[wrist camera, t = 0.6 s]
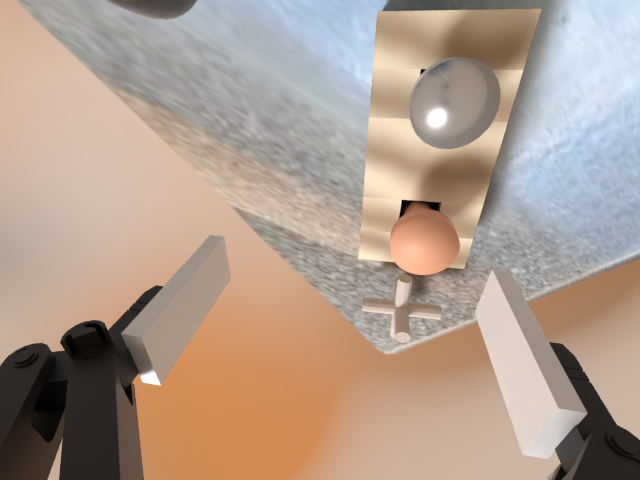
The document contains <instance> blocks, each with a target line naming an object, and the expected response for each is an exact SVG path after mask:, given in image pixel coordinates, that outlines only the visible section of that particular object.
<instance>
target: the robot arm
mask: <svg viewBox="0 0 640 480" xmlns="http://www.w3.org/2000/svg"><path fill="white" fill-rule="evenodd" d="M230 279H231V278H230V272H229V266H228V259H227V253H226V246H225V240H224V237H221V236H212V235H210V236H209V237H208V238H207V239H206V240H205V242H204V243H203V244H202V245H201V246H200V247H199V248H198V249H197V250H196V252H195V253H194V254H193V255H192V256H191V257H190V258H189V259H188V260H187V261H186V262H185V264H184V265H183V266H182V267H181V268H180V269H179V270H178V271H177V272H176V274H175V275H174V276H173V277H172V278H171V279H170V280H169V281H168V282H167V284H166V285H165V286H164V287H163V286H155V287H153V288H151V289H150V290H148V291H146V292H145V293H144V294H143V295H142V296H141V297H140V298H139V299H138V300H137V301H136V303H134V304H133V305H132V306H131V307H130V309H129V310H127V311H126V312H125V313H124V314H123V315H122V316H121V318H119V320H118V321H117V322H116V323H115V324H114V325H113V326H112V327H111V328H110V329H109V330H107V328H106V326H105V324H104V323H103V322H101V321H97V320H92V321H86V322H83V323H80V324H78V325H76V326H74V327H73V328H71V329H70V330H68V331H67V332H66V333H65V334H64V335H63V336H62V339H61V341H60V343H61V345H62V346H63V348H64V349H65V351H57V352H51V350H50V349H49V347H48V346H47V345H45V344H43V343H36V344H31V345H27V346H24V347H22V348H20V349H18V350H16V351H15V352H14V353H12V354H11V355H9V356H8V357H7V358H6V359H5V360H4V362H3V363H2V364H1V366H0V480H47V479H48V476H49V474H50V471H51V468H52V465H53V463H54V460H55V457H56V454H57V451H58V449H59V446H60V443H61V440H62V438H63V442H62V453H61V464H60V477H59V480H144V477H143V468H142V457H141V447H140V438H139V428H138V418H137V409H136V398H135V388H134V384H133V382H132V381H133V380H134V378H135V377H136V376H137V374H138V373H139V375H140V377H141V379H142V381H143V382H145V383H150V384H155V385H160V386H161V385H162V383H163V381H164V380H165V378H166V377H167V375H168V374H169V372H170V371H171V369H172V368H173V366H174V365H175V363H176V362H177V360H178V358H179V357H180V355H181V354H182V352H183V351H184V349H185V348H186V346H187V345H188V343H189V342H190V340H191V338H192V337H193V335H194V334H195V332H196V331H197V329H198V328H199V326H200V325H201V323H202V322H203V320H204V319H205V317H206V316H207V314H208V312H209V311H210V309H211V308H212V306H213V305H214V303H215V302H216V300H217V298H218V297H219V296H220V294H221V292H222V291H223V289H224V288H225V286H226V285H227V283H228V282H229V280H230ZM475 314H476V317H477V320H478V323H479V326H480V329H481V332H482V335H483V338H484V341H485V344H486V347H487V350H488V353H489V356H490V359H491V362H492V365H493V368H494V371H495V373H496V377H497V379H498V383H499V385H500V388H501V391H502V394H503V397H504V400H505V403H506V406H507V409H508V412H509V415H510V418H511V421H512V424H513V427H514V430H515V433H516V436H517V439H518V442H519V445H520V448H521V451H522V454H523V455H528V456H533V457H538V458H544V459H548V458H549V457H550V456H551V455H552V453H553V452H554V451H555V450H556V453H557V455H558V458H559V460H560V462H561V464H560V465H559V466H558V467H557V468H556V469H555V470H554V471H553V472H552V473H551V474H550V476H549V477H548V478H547V479H548V480H640V440H639V439H638V438H637V437H635V436H634V435H632V434H631V433H630V432H629V431H627V430H625V429H623V428H621V427H620V426H618V425H617V424H616V423H615V421H614V420H613V418H612V416H611V415H610V413H609V412H608V410H607V408H606V407H605V405H604V403H603V402H602V400H601V399H600V397H599V395H598V393H597V392H596V390H595V389H594V387H593V385H592V384H591V383H590V382H589V379H588V377H587V375H586V374H585V372H583V369H582V367H581V366H580V364H579V362H578V361H577V359H576V358H575V356H574V355H573V354H572V353H571V352H570V351H569V350H568V349H566V347H564V345H562V344H558V343H551V342H548V340H547V338H546V336H545V335H544V333H543V331H542V329H541V327H540V325H539V324H538V322H537V320H536V318H535V316H534V315H533V313H532V311H531V309H530V307H529V305H528V304H527V302H526V300H525V298H524V296H523V294H522V293H521V291H520V289H519V287H518V285H517V284H516V282H515V280H514V278H513V276H512V274H511V273H510V271H501V270H493V269H492V271H491V274H490V276H489V279H488V281H487V284H486V286H485V289H484V291H483V294H482V296H481V299H480V301H479V304H478V306H477V309H476V311H475Z"/></svg>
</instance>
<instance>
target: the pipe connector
mask: <svg viewBox="0 0 640 480" xmlns="http://www.w3.org/2000/svg"><path fill="white" fill-rule="evenodd" d="M412 282H413V278H412V277H411V276H410V275H407V274H401V275H399V276H398V280H395V281H394V282H393V301H391V300H381V299H372V298H363V307H362V311H367V312H376V313H385V314H393V315H392V322H391V328H390V336H391V337H392V338H394V339H395V340H396V341H398V342H401V343H405V342H408V341H409V340H410V329H409V317H408V316H412V317H421V318H429V319H438V320H440V319H441V315H442V310H441V306H438V305H428V304H419V303H410V302H409V299H410V293H411V287H412Z"/></svg>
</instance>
